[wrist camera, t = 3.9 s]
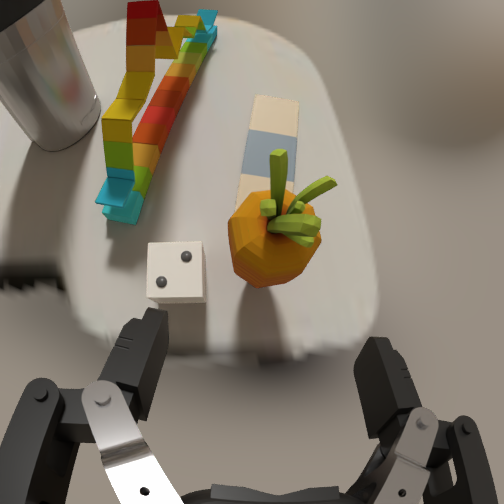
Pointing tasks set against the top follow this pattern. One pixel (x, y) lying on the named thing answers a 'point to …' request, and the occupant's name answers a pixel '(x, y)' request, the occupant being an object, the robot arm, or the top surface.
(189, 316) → the top surface
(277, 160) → the carrot
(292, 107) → the flat strip
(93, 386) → the robot arm
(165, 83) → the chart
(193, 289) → the die
